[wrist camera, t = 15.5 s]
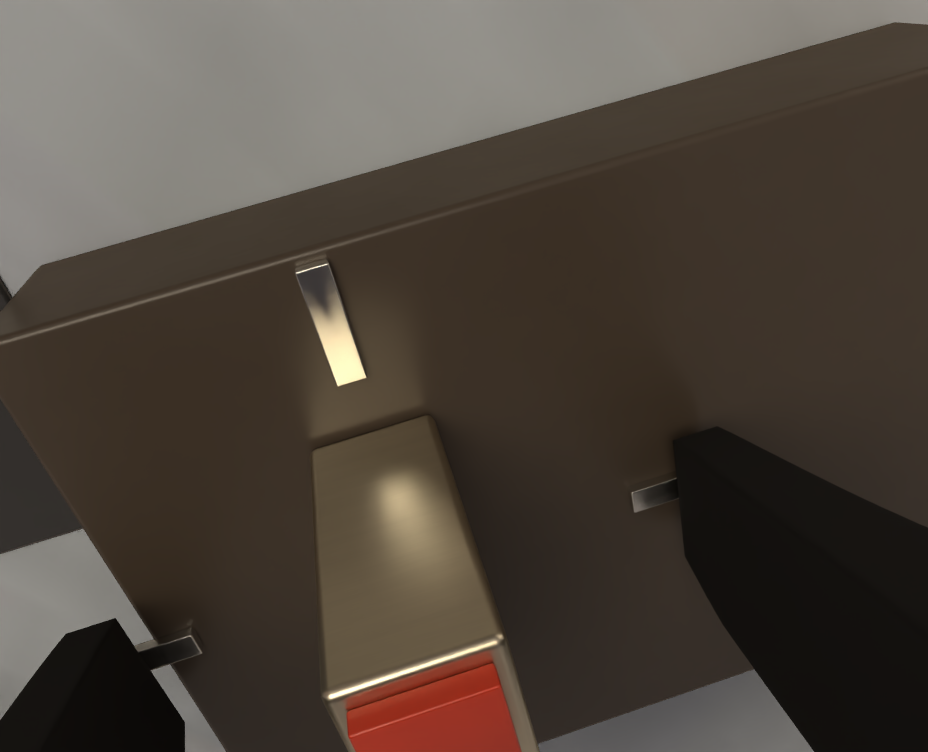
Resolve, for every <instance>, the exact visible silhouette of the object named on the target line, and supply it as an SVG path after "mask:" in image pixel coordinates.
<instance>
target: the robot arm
mask: <svg viewBox="0 0 928 752" xmlns="http://www.w3.org/2000/svg"><path fill="white" fill-rule="evenodd" d="M673 447H674V457H675V467H676V476H677V486H678V495H679V505H680V515H681V524H682V534H683V543H684V553H685V558H686V560H687V561H688V563H689V565H690V567H691V569H692V571H693V572H694V574H695V576H696V578H697V580H698V582H699V584H700V585H701V587H702V589H703V591H704V593H705V595H706V596H707V598H708V600H709V602H710V603H711V605H712V607H713V609H714V610H715V612H716V614H717V616H718V617H719V619H720V621H721V623H722V624H723V626H724V627H725V629H726V630H727V631H728V633H729V634H730V636H731V637H732V639H733V640H734V641H735V643H736V644H737V646H738V647H739V648H740V650H741V651H742V653H743V654H744V655H745V657H746V658H747V660H748V661H749V662H750V664H751V665H752V666H753V668H754V669H755V671H756V672H757V673H758V675H759V676H760V678H761V679H762V680H763V682H764V683H765V685H766V686H767V687H768V689H769V690H770V691H771V693H772V694H773V696H774V697H775V698H776V700H777V701H778V702H779V704H780V705H781V707H782V708H783V709H784V711H785V712H786V713H787V715H788V716H789V718H790V719H791V720H792V722H793V723H794V724H795V726H796V727H797V729H798V730H799V731H800V733H801V734H802V735H803V737H804V738H805V740H806V741H807V742H808V744H809V745H810V746H811V748H812V749H813V751H814V752H928V527H925V526H923V525H921V524H918V523H916V522H914V521H912V520H909V519H907V518H905V517H903V516H900V515H898V514H896V513H894V512H892V511H889V510H887V509H885V508H883V507H881V506H878V505H876V504H874V503H872V502H870V501H868V500H865V499H863V498H861V497H859V496H857V495H855V494H853V493H851V492H849V491H847V490H845V489H842V488H840V487H838V486H836V485H834V484H832V483H830V482H828V481H826V480H824V479H822V478H820V477H818V476H816V475H814V474H812V473H810V472H808V471H806V470H804V469H802V468H800V467H798V466H796V465H794V464H792V463H790V462H788V461H786V460H784V459H782V458H780V457H778V456H776V455H774V454H772V453H770V452H768V451H766V450H764V449H762V448H761V447H759V446H757V445H755V444H753V443H751V442H749V441H747V440H745V439H743V438H741V437H739V436H737V435H735V434H733V433H731V432H729V431H727V430H725V429H722V428H720V427H718V426H716V427H713V428H710V429H707V430H704V431H700V432H697V433H694V434H691V435H688V436H685V437H682V438H679V439H675V440H673ZM0 752H185V722H184V720H183V719H182V717H181V716H180V714H179V713H178V711H177V710H176V708H175V707H174V705H173V704H172V702H171V701H170V699H169V698H168V696H167V695H166V693H165V692H164V690H163V689H162V687H161V686H160V684H159V683H158V681H157V680H156V678H155V677H154V675H153V674H152V672H151V671H150V669H149V668H148V666H147V665H146V663H145V662H144V660H143V659H142V657H141V656H140V654H139V653H138V651H137V650H136V648H135V647H134V645H133V644H132V642H131V641H130V639H129V638H128V636H127V635H126V633H125V632H124V630H123V629H122V627H121V626H120V624H119V623H118V621H117V620H116V618H114V619H111V620H108V621H105V622H102V623H99V624H96V625H92V626H89V627H86V628H83V629H80V630H77V631H74V632H71V633H67V634H65V636H64V637H63V638H62V639H61V641H60V642H59V643H58V644H57V645H56V647H55V648H54V649H53V650H52V652H51V653H50V654H49V656H48V657H47V658H46V659H45V661H44V662H43V663H42V665H41V666H40V667H39V669H38V670H37V671H36V673H35V674H34V675H33V677H32V678H31V679H30V681H29V682H28V683H27V685H26V686H25V687H24V689H23V690H22V691H21V693H20V694H19V696H18V697H17V698H16V700H15V701H14V702H13V704H12V705H11V706H10V708H9V709H8V710H7V712H6V713H5V715H4V716H3V717H2V719H1V720H0Z"/></svg>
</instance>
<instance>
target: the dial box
mask: <svg viewBox="0 0 928 752" xmlns="http://www.w3.org/2000/svg"><path fill="white" fill-rule="evenodd" d="M0 399H1V401H2V403H3V404H4V406H5V407H6V409H7V410H8V412H9V413H10V415H11V417H12V418H13V420H14V421H15V423H16V424H17V426H18V427H19V429H20V431H21V432H22V434H23V435H24V437H25V438H26V440H27V442H28V443H29V445H30V446H31V448H32V449H33V451H34V452H35V454H36V456H37V457H38V459H39V460H40V462H41V463H42V465H43V466H44V468H45V470H46V471H47V473H48V474H49V476H50V477H51V479H52V481H53V482H54V484H55V485H56V487H57V488H58V490H59V491H60V493H61V495H62V496H63V498H64V499H65V501H66V502H67V504H68V505H69V507H70V509H71V510H72V512H73V513H74V515H75V516H76V518H77V519H78V521H79V523H80V524H81V526H82V527H83V529H84V530H85V532H86V534H87V535H88V537H89V538H90V540H91V541H92V543H93V544H94V546H95V548H96V549H97V551H98V552H99V554H100V555H101V557H102V558H103V560H104V562H105V563H106V565H107V566H108V568H109V569H110V571H111V572H112V574H113V576H114V577H115V579H116V580H117V582H118V583H119V585H120V587H121V588H122V590H123V591H124V593H125V594H126V596H127V597H128V599H129V601H130V602H131V604H132V605H133V607H134V608H135V610H136V611H137V613H138V615H139V616H140V618H141V619H142V621H143V622H144V624H145V625H146V627H147V629H148V630H149V632H150V633H151V635H152V636H153V638H154V639H153V640H150V641H147V642H144V643H141V644H138V645H135V646H134V647H135V648H136V650H137V651H138V653H139V654H140V656H141V657H142V659H143V660H144V662H145V663H146V665H147V666H148V668H149V669H150V671H151V670H154V669H157V668H160V667H163V666H166V665H169V664H171V666H172V668H173V669H174V671H175V672H176V674H177V675H178V677H179V679H180V680H181V682H182V683H183V685H184V686H185V688H186V689H187V691H188V693H189V694H190V696H191V697H192V699H193V700H194V702H195V703H196V705H197V707H198V708H199V710H200V711H201V713H202V714H203V716H204V717H205V719H206V721H207V722H208V724H209V725H210V727H211V728H212V730H213V732H214V733H215V735H216V736H217V738H218V739H219V741H220V742H221V744H222V746H223V747H224V749H225V750H226V752H348V750H347V748H346V746H345V744H344V742H343V740H342V738H341V736H340V734H339V732H338V730H337V728H336V726H335V724H334V722H333V720H332V718H331V716H330V714H329V712H328V710H327V708H326V706H325V704H324V702H323V700H322V698H321V684H320V662H319V641H318V619H317V597H316V576H315V554H314V532H313V511H312V489H311V468H310V455H311V452H312V451H314V450H315V449H317V448H321V447H324V446H327V445H330V444H334V443H337V442H340V441H343V440H347V439H350V438H353V437H356V436H360V435H363V434H366V433H369V432H373V431H376V430H379V429H382V428H386V427H389V426H392V425H395V424H399V423H402V422H405V421H408V420H411V419H415V418H418V417H421V416H424V415H430V416H431V417H432V418H433V419H434V420H435V423H436V426H437V429H438V432H439V435H440V438H441V441H442V444H443V447H444V450H445V453H446V456H447V459H448V462H449V465H450V468H451V471H452V474H453V477H454V480H455V483H456V486H457V489H458V492H459V495H460V498H461V501H462V504H463V507H464V510H465V513H466V516H467V519H468V522H469V525H470V528H471V531H472V534H473V537H474V540H475V543H476V546H477V549H478V552H479V555H480V558H481V561H482V564H483V567H484V570H485V573H486V576H487V579H488V582H489V585H490V588H491V591H492V594H493V597H494V600H495V603H496V606H497V609H498V612H499V615H500V618H501V621H502V624H503V627H504V630H505V633H506V636H507V640H508V643H509V646H510V650H511V653H512V657H513V660H514V664H515V667H516V671H517V674H518V678H519V681H520V685H521V688H522V692H523V695H524V699H525V702H526V705H527V709H528V712H529V716H530V719H531V723H532V726H533V730H534V733H535V737H536V740H537V744H539V743H542V742H544V741H547V740H550V739H553V738H556V737H559V736H562V735H565V734H568V733H571V732H573V731H576V730H579V729H582V728H585V727H588V726H591V725H594V724H597V723H600V722H602V721H605V720H608V719H611V718H614V717H617V716H620V715H623V714H626V713H629V712H631V711H634V710H637V709H640V708H643V707H646V706H649V705H652V704H655V703H658V702H660V701H663V700H666V699H669V698H672V697H675V696H678V695H681V694H684V693H686V692H689V691H692V690H695V689H698V688H701V687H704V686H707V685H710V684H713V683H715V682H718V681H721V680H724V679H727V678H730V677H733V676H736V675H739V674H742V673H744V672H747V671H750V670H753V669H754V668H753V666H752V665H751V664H750V662H749V661H748V660H747V658H746V657H745V655H744V654H743V653H742V651H741V650H740V648H739V647H738V646H737V644H736V643H735V641H734V640H733V639H732V637H731V636H730V634H729V633H728V631H727V630H726V629H725V627H724V626H723V624H722V623H721V621H720V619H719V617H718V616H717V614H716V612H715V610H714V609H713V607H712V605H711V603H710V602H709V600H708V598H707V596H706V595H705V593H704V591H703V589H702V587H701V585H700V584H699V582H698V580H697V578H696V576H695V574H694V572H693V571H692V569H691V567H690V565H689V563H688V561H687V560H686V558H685V553H684V543H683V534H682V524H681V515H680V505H679V495H678V486H677V476H676V467H675V457H674V447H673V440H675V439H679V438H682V437H685V436H688V435H691V434H694V433H697V432H700V431H704V430H707V429H710V428H713V427H716V426H718V427H720V428H722V429H725V430H727V431H729V432H731V433H733V434H735V435H737V436H739V437H741V438H743V439H745V440H747V441H749V442H751V443H753V444H755V445H757V446H759V447H761V448H762V449H764V450H766V451H768V452H770V453H772V454H774V455H776V456H778V457H780V458H782V459H784V460H786V461H788V462H790V463H792V464H794V465H796V466H798V467H800V468H802V469H804V470H806V471H808V472H810V473H812V474H814V475H816V476H818V477H820V478H822V479H824V480H826V481H828V482H830V483H832V484H834V485H836V486H838V487H840V488H842V489H845V490H847V491H849V492H851V493H853V494H855V495H857V496H859V497H861V498H863V499H865V500H868V501H870V502H872V503H874V504H876V505H878V506H881V507H883V508H885V509H887V510H889V511H892V512H894V513H896V514H898V515H900V516H903V517H905V518H907V519H909V520H912V521H914V522H916V523H918V524H921V525H923V526H925V527H928V25H924V24H910V23H896V22H895V23H891V24H888V25H884V26H880V27H877V28H873V29H870V30H866V31H863V32H859V33H856V34H852V35H849V36H845V37H842V38H838V39H835V40H831V41H828V42H824V43H821V44H817V45H814V46H810V47H807V48H803V49H800V50H796V51H793V52H789V53H786V54H782V55H779V56H775V57H772V58H768V59H765V60H761V61H758V62H754V63H751V64H747V65H744V66H740V67H737V68H733V69H729V70H726V71H722V72H719V73H715V74H712V75H708V76H705V77H701V78H698V79H694V80H691V81H687V82H684V83H680V84H677V85H673V86H670V87H666V88H663V89H659V90H656V91H652V92H649V93H645V94H642V95H638V96H635V97H631V98H628V99H624V100H621V101H617V102H614V103H610V104H607V105H603V106H600V107H596V108H593V109H589V110H585V111H582V112H578V113H575V114H571V115H568V116H564V117H561V118H557V119H554V120H550V121H547V122H543V123H540V124H536V125H533V126H529V127H526V128H522V129H519V130H515V131H512V132H508V133H505V134H501V135H498V136H494V137H491V138H487V139H484V140H480V141H477V142H473V143H470V144H466V145H463V146H459V147H456V148H452V149H449V150H445V151H442V152H438V153H434V154H431V155H427V156H424V157H420V158H417V159H413V160H410V161H406V162H403V163H399V164H396V165H392V166H389V167H385V168H382V169H378V170H375V171H371V172H368V173H364V174H361V175H357V176H354V177H350V178H347V179H343V180H340V181H336V182H333V183H329V184H326V185H322V186H319V187H315V188H312V189H308V190H305V191H301V192H298V193H294V194H290V195H287V196H283V197H280V198H276V199H273V200H269V201H266V202H262V203H259V204H255V205H252V206H248V207H245V208H241V209H238V210H234V211H231V212H227V213H224V214H220V215H217V216H213V217H210V218H206V219H203V220H199V221H196V222H192V223H189V224H185V225H182V226H178V227H175V228H171V229H168V230H164V231H161V232H157V233H154V234H150V235H147V236H143V237H139V238H136V239H132V240H129V241H125V242H122V243H118V244H115V245H111V246H108V247H104V248H101V249H97V250H94V251H90V252H87V253H83V254H80V255H76V256H73V257H69V258H66V259H62V260H59V261H55V262H52V263H48V264H45V265H41V266H40V267H39V268H38V269H37V270H36V271H35V272H34V273H33V275H32V276H31V277H30V278H29V279H28V280H27V281H26V283H25V284H24V285H23V286H22V287H21V288H20V290H19V291H18V292H17V293H16V294H15V295H14V297H13V298H12V299H11V300H10V301H9V302H8V303H7V305H6V306H5V307H4V308H3V309H2V310H1V312H0Z"/></svg>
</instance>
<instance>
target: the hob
mask: <svg viewBox="0 0 928 752" xmlns="http://www.w3.org/2000/svg"><path fill="white" fill-rule="evenodd" d="M11 299H12V297H11V295H10V293H9V291H8V290H7V288H6V286H5V285H4V283H3V281H2V280H1V278H0V312H1V310H2V309H3V308H4V307H5V306H6V305H7V303H8V302H9V301H10V300H11ZM80 529H83V527H82V526H81V524H80V523H79V521H78V519H77V518H76V516H75V515H74V513H73V512H72V510H71V509H70V507H69V505H68V504H67V502H66V501H65V499H64V498H63V496H62V495H61V493H60V491H59V490H58V488H57V487H56V485H55V484H54V482H53V481H52V479H51V477H50V476H49V474H48V473H47V471H46V470H45V468H44V466H43V465H42V463H41V462H40V460H39V459H38V457H37V456H36V454H35V452H34V451H33V449H32V448H31V446H30V445H29V443H28V442H27V440H26V438H25V437H24V435H23V434H22V432H21V431H20V429H19V427H18V426H17V424H16V423H15V421H14V420H13V418H12V417H11V415H10V413H9V412H8V410H7V409H6V407H5V406H4V404H3V403H2V401H1V399H0V554H2V553H5V552H9V551H12V550H15V549H18V548H22V547H25V546H28V545H31V544H34V543H38V542H41V541H44V540H47V539H51V538H54V537H57V536H60V535H63V534H67V533H70V532H73V531H76V530H80Z"/></svg>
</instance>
